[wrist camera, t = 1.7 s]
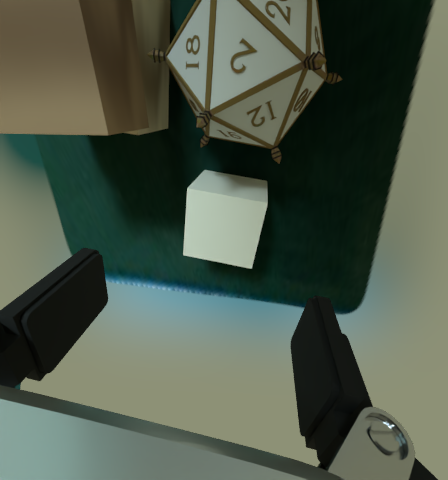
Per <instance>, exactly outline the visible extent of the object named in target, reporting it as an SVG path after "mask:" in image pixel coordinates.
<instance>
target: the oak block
mask: <svg viewBox="0 0 448 480" xmlns="http://www.w3.org/2000/svg"><path fill="white" fill-rule="evenodd" d="M131 1H132V8H133V15H134V23H135V30H136V37H137V44H138V51H139V58H140V65H141V73H142V80H143V87H144V94H145V101H146V108H147V116H148V123H149V128H145V129H140V130H135V131H129V132H124V133H129V134H134V135H141V134H146V133H150V132H155V131H159V130H163V129H168V109H169V66H168V65H167V63H166V61H162V62H161V63H159V62H156V63H154V61H153V60H152V59H151V58H150V57H149V56H147V54H148V53H149V52H151V51H152V50H153V49H154V48H155V50H159V49H160V51H162V52H166V51H167V49H168V47H169V46H170V0H131Z"/></svg>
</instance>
